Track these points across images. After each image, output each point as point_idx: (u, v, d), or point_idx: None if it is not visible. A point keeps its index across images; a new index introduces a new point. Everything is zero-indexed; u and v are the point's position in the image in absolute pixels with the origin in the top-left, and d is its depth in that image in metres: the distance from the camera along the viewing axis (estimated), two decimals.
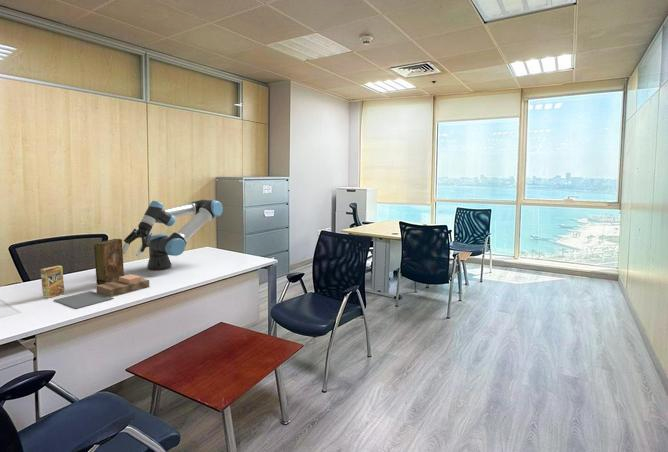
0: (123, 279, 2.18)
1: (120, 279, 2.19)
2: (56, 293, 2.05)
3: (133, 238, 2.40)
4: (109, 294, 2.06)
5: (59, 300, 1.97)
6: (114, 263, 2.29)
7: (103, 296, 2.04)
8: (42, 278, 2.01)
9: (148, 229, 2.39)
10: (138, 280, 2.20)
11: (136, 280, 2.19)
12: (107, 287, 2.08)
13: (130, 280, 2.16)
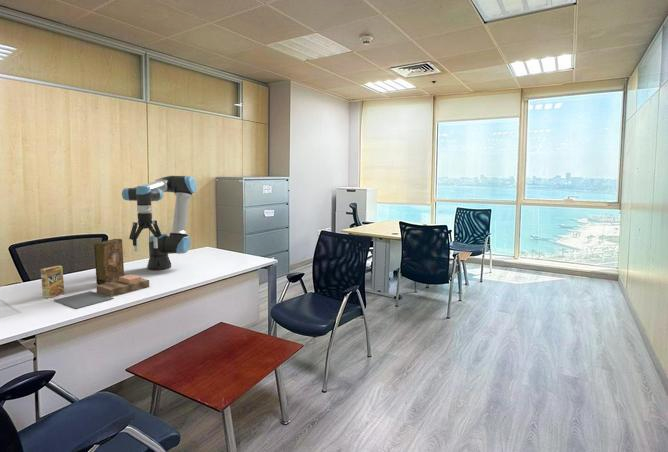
0: (123, 279, 2.18)
1: (120, 279, 2.19)
2: (56, 293, 2.05)
3: None
4: (109, 294, 2.06)
5: (59, 300, 1.97)
6: (114, 263, 2.29)
7: (103, 296, 2.04)
8: (42, 278, 2.01)
9: None
10: (138, 280, 2.20)
11: (136, 280, 2.19)
12: (107, 287, 2.08)
13: (130, 280, 2.16)
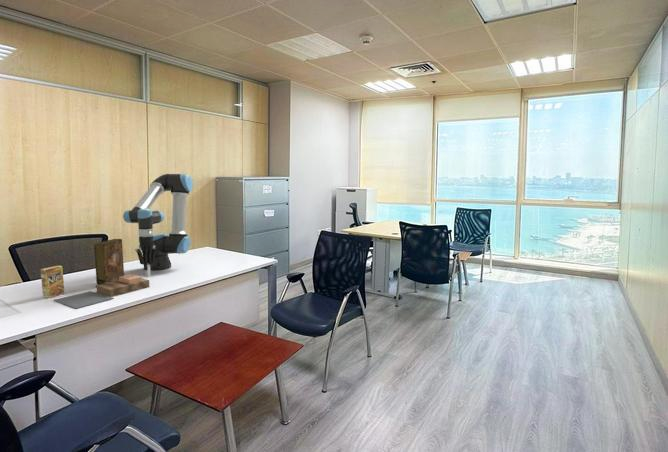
0: (123, 279, 2.18)
1: (120, 279, 2.19)
2: (56, 293, 2.05)
3: None
4: (109, 294, 2.06)
5: (59, 300, 1.97)
6: (114, 263, 2.29)
7: (103, 296, 2.04)
8: (42, 278, 2.01)
9: None
10: (138, 280, 2.20)
11: (136, 280, 2.19)
12: (107, 287, 2.08)
13: (130, 280, 2.16)
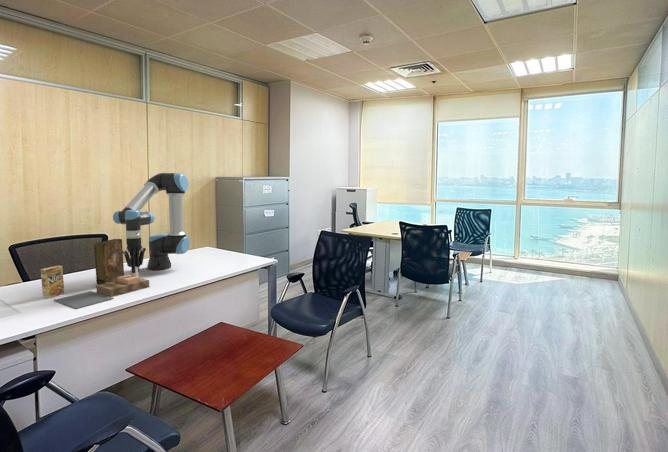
0: (121, 279, 2.17)
1: (118, 279, 2.19)
2: (56, 293, 2.05)
3: None
4: (109, 294, 2.06)
5: (59, 300, 1.97)
6: (114, 263, 2.29)
7: (103, 296, 2.04)
8: (42, 278, 2.01)
9: None
10: (136, 280, 2.19)
11: (134, 280, 2.18)
12: (107, 287, 2.08)
13: (128, 280, 2.15)
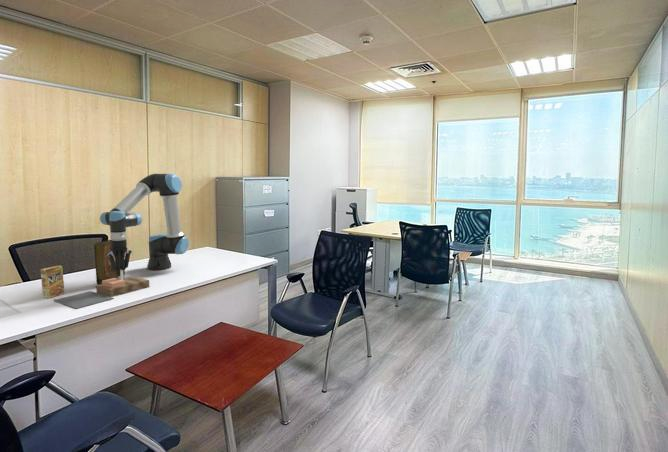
0: (106, 283, 2.10)
1: (103, 283, 2.11)
2: (56, 293, 2.05)
3: None
4: (109, 294, 2.06)
5: (59, 300, 1.97)
6: None
7: (103, 296, 2.04)
8: (42, 278, 2.01)
9: None
10: (122, 284, 2.11)
11: (120, 284, 2.10)
12: (107, 287, 2.08)
13: (113, 284, 2.07)
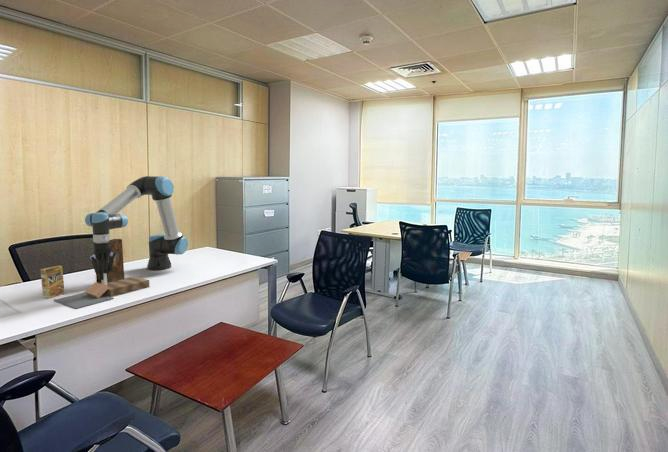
0: (90, 294, 2.03)
1: (87, 294, 2.05)
2: (56, 293, 2.05)
3: None
4: (109, 294, 2.06)
5: (59, 300, 1.97)
6: (114, 263, 2.29)
7: (103, 296, 2.04)
8: (42, 278, 2.01)
9: None
10: (105, 289, 2.04)
11: (103, 290, 2.03)
12: None
13: (97, 295, 2.00)
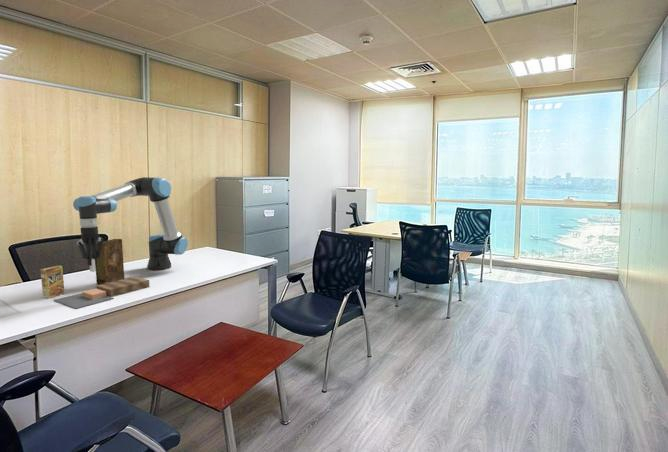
0: (86, 294, 2.02)
1: (83, 294, 2.03)
2: (56, 293, 2.05)
3: None
4: (109, 294, 2.06)
5: (59, 300, 1.97)
6: (114, 263, 2.29)
7: None
8: (42, 278, 2.01)
9: None
10: (103, 295, 2.03)
11: (100, 295, 2.02)
12: (107, 287, 2.08)
13: (93, 295, 1.99)
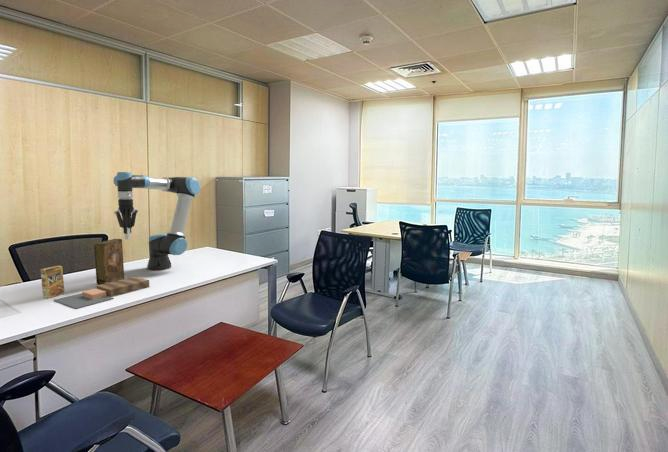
0: (86, 294, 2.02)
1: (83, 294, 2.03)
2: (56, 293, 2.05)
3: None
4: (109, 294, 2.06)
5: (59, 300, 1.97)
6: (114, 263, 2.29)
7: None
8: (42, 278, 2.01)
9: None
10: (103, 295, 2.03)
11: (100, 295, 2.02)
12: (107, 287, 2.08)
13: (93, 295, 1.99)
